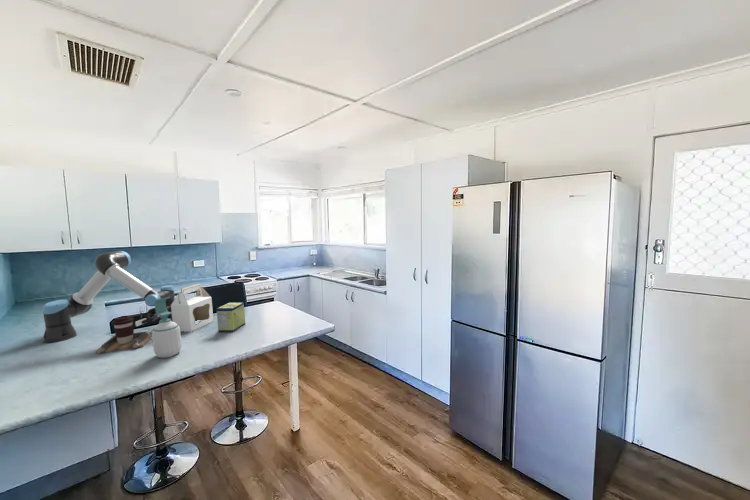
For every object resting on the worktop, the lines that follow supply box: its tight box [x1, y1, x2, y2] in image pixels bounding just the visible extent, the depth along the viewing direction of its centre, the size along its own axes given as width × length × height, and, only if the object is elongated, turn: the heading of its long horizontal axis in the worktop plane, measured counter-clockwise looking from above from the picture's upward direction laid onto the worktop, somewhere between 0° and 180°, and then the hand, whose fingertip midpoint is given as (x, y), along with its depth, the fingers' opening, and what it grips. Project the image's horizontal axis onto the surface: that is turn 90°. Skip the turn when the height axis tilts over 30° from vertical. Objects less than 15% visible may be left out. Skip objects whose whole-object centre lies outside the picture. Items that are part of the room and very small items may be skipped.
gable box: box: [171, 282, 214, 333], centre depth 217 cm, size 22×13×28 cm, turn 170°
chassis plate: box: [95, 331, 153, 354], centre depth 187 cm, size 22×21×4 cm
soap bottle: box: [151, 297, 182, 359], centre depth 170 cm, size 12×12×31 cm
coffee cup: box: [111, 315, 135, 344], centre depth 187 cm, size 10×10×15 cm
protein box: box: [216, 301, 246, 333], centre depth 210 cm, size 10×16×16 cm
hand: (126, 323), depth 188 cm, fingers open, 13 cm apart
